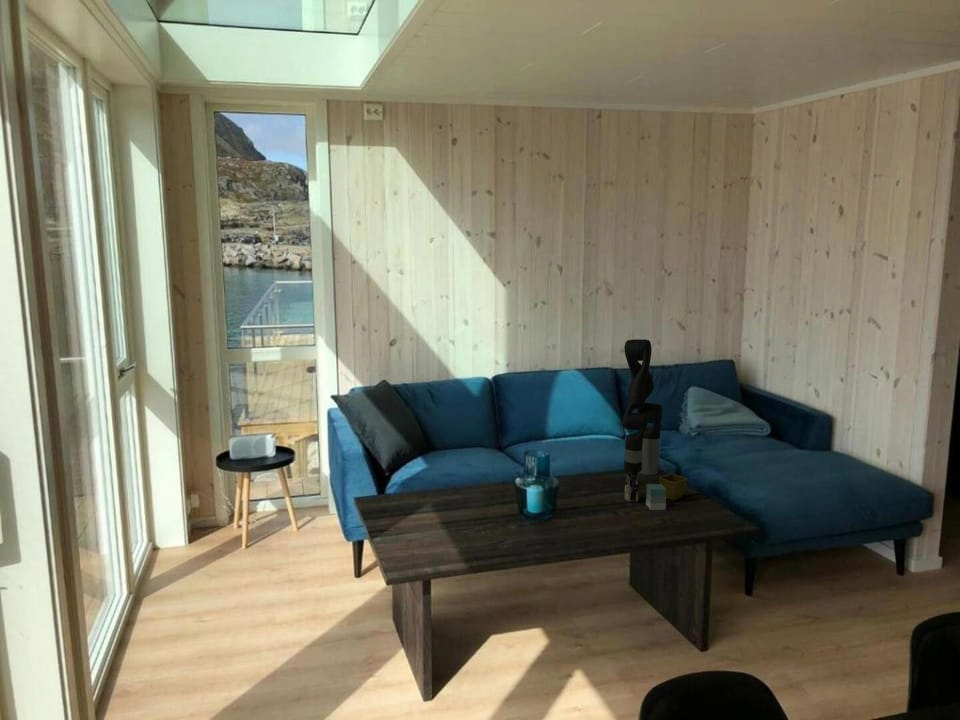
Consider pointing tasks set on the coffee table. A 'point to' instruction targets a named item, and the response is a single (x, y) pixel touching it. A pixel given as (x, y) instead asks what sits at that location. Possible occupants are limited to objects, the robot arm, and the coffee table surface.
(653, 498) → the slab middle
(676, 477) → the flower pot
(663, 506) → the slab bottom
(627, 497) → the birch block
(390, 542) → the coffee table surface
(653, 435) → the robot arm
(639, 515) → the coffee table surface
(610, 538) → the coffee table surface
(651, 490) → the slab top
